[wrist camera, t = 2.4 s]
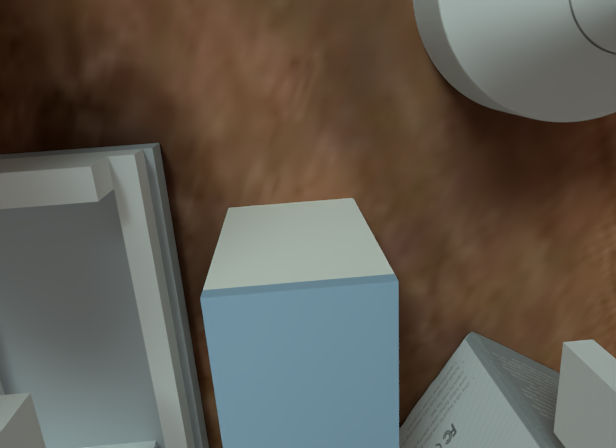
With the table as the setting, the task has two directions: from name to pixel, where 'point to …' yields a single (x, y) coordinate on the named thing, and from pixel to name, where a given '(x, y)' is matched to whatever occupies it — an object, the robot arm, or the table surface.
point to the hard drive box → (485, 402)
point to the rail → (95, 299)
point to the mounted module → (130, 445)
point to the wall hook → (526, 54)
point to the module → (303, 329)
